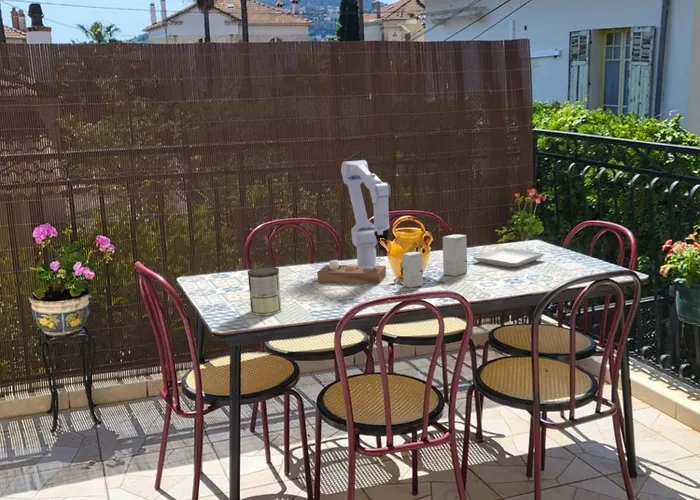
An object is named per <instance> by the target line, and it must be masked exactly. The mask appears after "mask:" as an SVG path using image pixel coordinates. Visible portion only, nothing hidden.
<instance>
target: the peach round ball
mask: <svg viewBox="0 0 700 500" xmlns="http://www.w3.org/2000/svg"><path fill="white" fill-rule="evenodd" d="M346 265H347V270H356V264H346Z"/></svg>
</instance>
